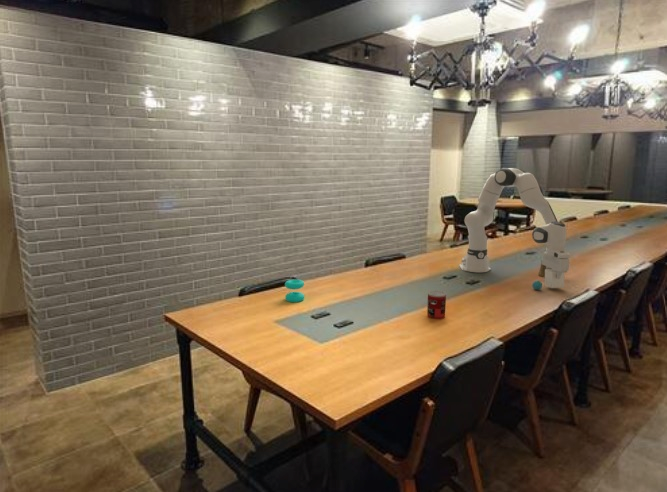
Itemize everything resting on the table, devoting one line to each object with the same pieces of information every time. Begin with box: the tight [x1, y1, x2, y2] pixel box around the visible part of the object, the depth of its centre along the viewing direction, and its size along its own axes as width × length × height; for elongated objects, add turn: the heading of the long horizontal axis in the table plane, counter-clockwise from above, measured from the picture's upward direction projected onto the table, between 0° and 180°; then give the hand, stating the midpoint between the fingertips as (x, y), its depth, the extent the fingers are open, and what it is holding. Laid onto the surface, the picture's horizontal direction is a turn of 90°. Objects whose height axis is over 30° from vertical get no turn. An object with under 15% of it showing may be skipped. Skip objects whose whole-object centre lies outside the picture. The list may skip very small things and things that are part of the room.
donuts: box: [284, 278, 306, 303], centre depth 228 cm, size 10×10×10 cm
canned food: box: [426, 290, 447, 320], centre depth 201 cm, size 8×8×11 cm
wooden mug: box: [537, 259, 552, 278], centre depth 267 cm, size 9×14×18 cm, turn 35°
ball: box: [531, 280, 543, 291], centre depth 241 cm, size 5×5×5 cm
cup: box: [544, 269, 565, 289], centre depth 241 cm, size 7×7×9 cm
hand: (553, 276), depth 241 cm, fingers closed on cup, 7 cm apart
